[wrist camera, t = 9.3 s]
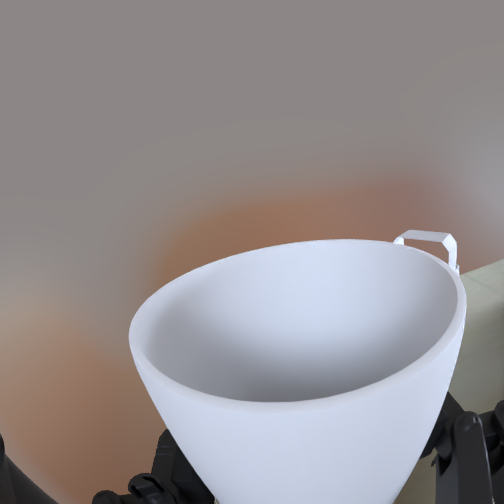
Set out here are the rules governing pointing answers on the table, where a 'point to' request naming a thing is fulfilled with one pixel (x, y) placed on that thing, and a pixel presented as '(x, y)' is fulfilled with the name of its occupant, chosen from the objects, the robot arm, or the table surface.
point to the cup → (303, 368)
